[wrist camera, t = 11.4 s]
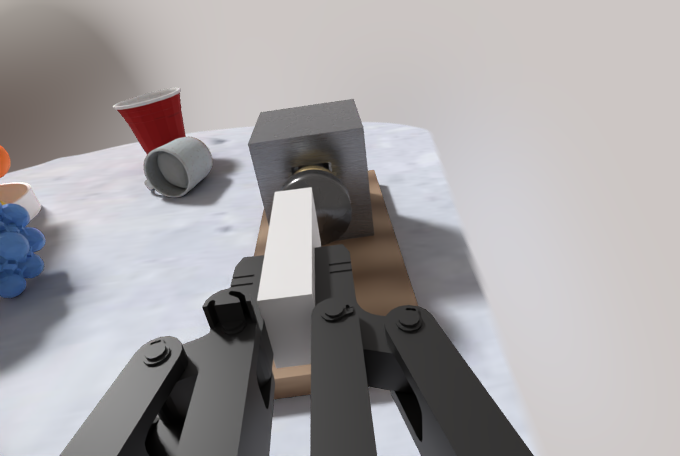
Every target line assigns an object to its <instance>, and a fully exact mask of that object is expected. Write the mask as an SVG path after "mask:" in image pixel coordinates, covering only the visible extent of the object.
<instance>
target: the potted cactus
mask: <svg viewBox="0 0 680 456" xmlns="http://www.w3.org/2000/svg"><path fill="white" fill-rule="evenodd" d="M9 168H10V157H9V155H8V153H7V151H6V150H5V149H4V148H3V147H2V146H1V145H0V178H1V177H3V176H4V175H5V174H6V173H7V172H8V170H9ZM0 202H1V204H2V205H5V204H8V203H12V204H18V205H20V206H22V207H24V208H25V209H26V210H27V211H28V213H29V215H30V221H31V220H32V219H33V218H34V217H35V216H36V215H37V214H38V213H39V212H40V210H41V204H40V203H39V201H38V199H37V197H36V196H35V194H34V192H33V190H32V188H31V187H30V185H29V184H27V183H21V182H16V183H5V184H0Z"/></svg>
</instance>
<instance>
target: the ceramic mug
mask: <svg viewBox="0 0 680 456" xmlns="http://www.w3.org/2000/svg"><path fill="white" fill-rule="evenodd" d="M212 164H213V160H212V155H211V153H210V151H209V149H208V148H207V146H206V145H205V144H204V143H203V142H201V141H200V140H198V139H196V138H193V137H182V138H177V139H175V140H173V141H171V142H169V143H167V144H165V145H163V146H161V147H158V148H156V149H154V150H152V151H151V152H149V153H148V155H147V156H146V158H145V160H144V173H145V176H146V178H147V180H146V181H145V182H144V183H145V185H146V186H147V188H148V189H149V190H152V189H155V190H156V191H157V192H159V193H161V194H162V195H164V196H168V197H172V198H177V197H181V196H183V195H185V194H186V193H187V192H189V191H190V190H191V189H192V188H193V187H195V186H196V185H197V184H198V183H199V182H200V181H201V180H202V179H204V178H205V177H206V176H207V175H208V173H209V172H210V170H211V168H212Z"/></svg>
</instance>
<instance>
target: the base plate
mask: <svg viewBox="0 0 680 456" xmlns="http://www.w3.org/2000/svg"><path fill="white" fill-rule="evenodd" d="M368 179H369V188H370V198H371V208H372V218H373V227H374V236H367V237H359V238H352V239H345V240H338V241H334V242H332V243H329V244H326V245H322V246H321V247H324V246H332V245H339V244H343V245H344V246H345V247H346V248H347V250H348V251H349V252H350V259H351V266H352V273H353V281H354V288H355V295H356V300H357V303H358V305H359V306H360V307H361V308H362V309H363V310H365V311H366V312H369V313H371V314H375V315H381V316H386V315H387V314H388V313H389V312H390V311H391V310H392V309H394V308H397V307H399V306H404V305H413V306H418V304H417V301H416V298H415V295H414V292H413V288H412V285H411V282H410V279H409V276H408V273H407V270H406V267H405V264H404V261H403V258H402V255H401V251H400V248H399V245H398V242H397V239H396V236H395V233H394V230H393V227H392V224H391V221H390V218H389V214H388V211H387V208H386V205H385V202H384V199H383V196H382V193H381V190H380V187H379V184H378V181H377V178H376V174H375V171H374V170H369V171H368ZM268 231H269V225H268V221H267V217H266V213H265V209H264V211H263V216H262V220H261V225H260V230H259V234H258V239H257V244H256V249H255V253H254V256H260V255H265V249H266V243H267V237H268ZM272 372H273V375H274V380H275V391H274V399H280V398H287V397H295V396H302V395H310V394H311V364H307V365H299V366H291V367H283V368H276V366H275V362H274V359H273V365H272ZM368 387H369V386H368Z"/></svg>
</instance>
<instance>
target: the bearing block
mask: <svg viewBox="0 0 680 456" xmlns="http://www.w3.org/2000/svg"><path fill="white" fill-rule="evenodd" d="M248 146H249V150H250V154H251V158H252V162H253V166H254V170H255V174H256V177H257V181H258V185H259V189H260V193H261V197H262V201H263V205H264V209H265V213H266V217H267V221H268V225H270V218H271V212H272V206H273V200H274V194H275V192H278V191H280V189H281V187H282V186H283V184H284V183H285V182H286V180H287V179H289V178H290V177H291V176H292V175H293V174H294V173H295V172H296V171H297V170H298V167H299V166H306V165H313V164H320V163H327V162H329V170H330V171H331V172H333V174H334V175H335V176H336V177H338V178H339V179H340V180H341V181H342V182H343V183H344V185H345V186H346V188H347V190H348V193H349V197H350V202H351V208H352V218H351V222H350V225H349V227H348V229H347V230H346V231H345V233H344V234H343V235H342V236H341V237H340V238H338V239H337V240H335V241H338V240H345V239H352V238H359V237H367V236H374V227H373V218H372V208H371V198H370V188H369V179H368V169H367V159H366V149H365V140H364V130H363V125H362V122H361V119H360V117H359V114H358V111H357V108H356V105H355V102H354V99H350V100H344V101H336V102H330V103H322V104H315V105H308V106H302V107H295V108H288V109H281V110H274V111H267V112H261V113H260V115H259V117H258V120H257V123H256V125H255V128H254V130H253V133H252V135H251V138H250V140H249V143H248Z"/></svg>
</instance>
